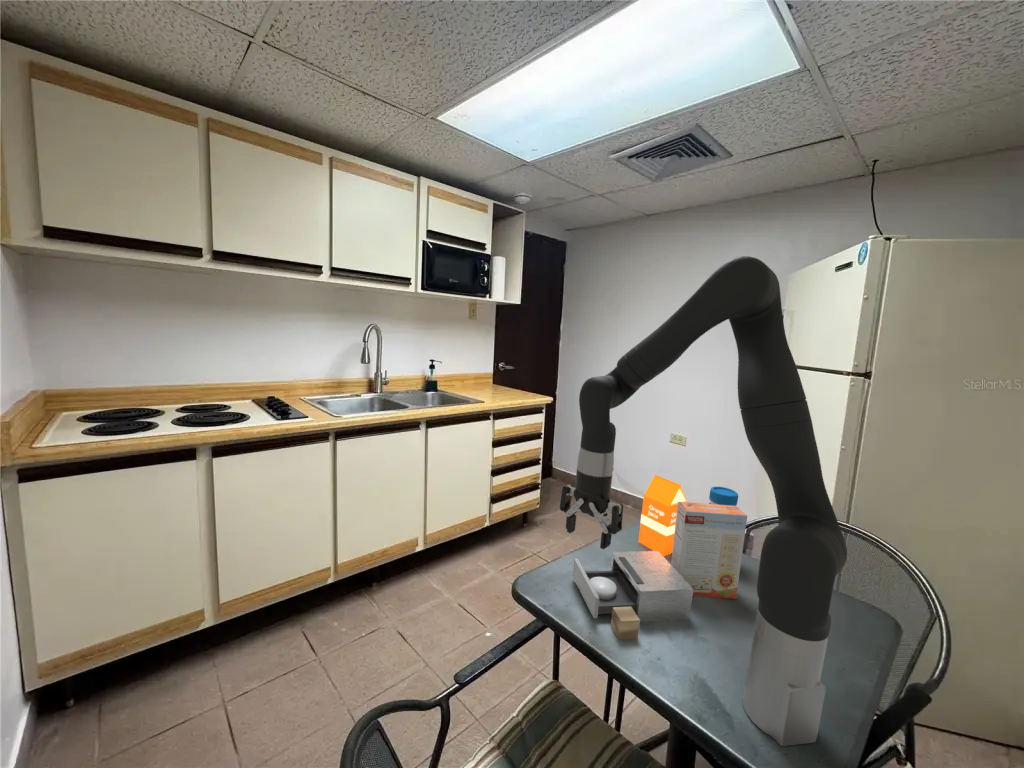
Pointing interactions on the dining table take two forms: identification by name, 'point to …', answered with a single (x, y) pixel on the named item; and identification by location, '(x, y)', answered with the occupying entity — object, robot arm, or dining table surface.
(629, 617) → the tan block
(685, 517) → the cracker box
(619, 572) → the grey drawer
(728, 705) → the dining table surface
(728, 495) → the beverage bottle
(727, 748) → the dining table surface
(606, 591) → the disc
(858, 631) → the dining table surface
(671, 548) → the orange juice
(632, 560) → the block
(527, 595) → the dining table surface
